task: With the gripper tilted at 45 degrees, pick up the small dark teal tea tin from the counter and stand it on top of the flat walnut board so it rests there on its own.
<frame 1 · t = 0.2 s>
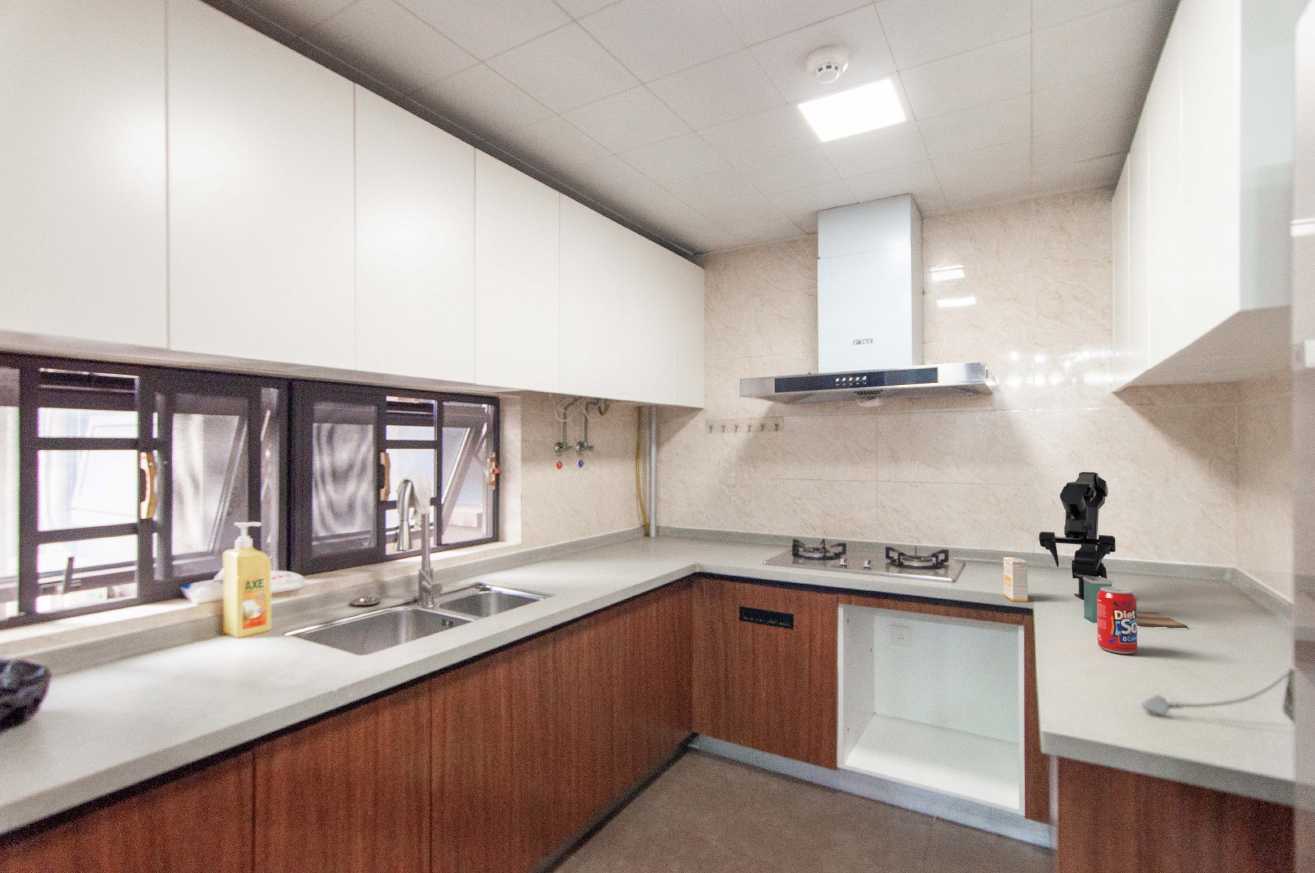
hand: (1076, 568, 181), 14 cm above the worktop, tool tilted 30°, fingers open, 9 cm apart
walnut board: (1143, 622, 178), on the worktop
supplement box: (1015, 599, 203), on the worktop
soda can: (1117, 651, 152), on the worktop
tea tin: (1098, 620, 177), on the worktop
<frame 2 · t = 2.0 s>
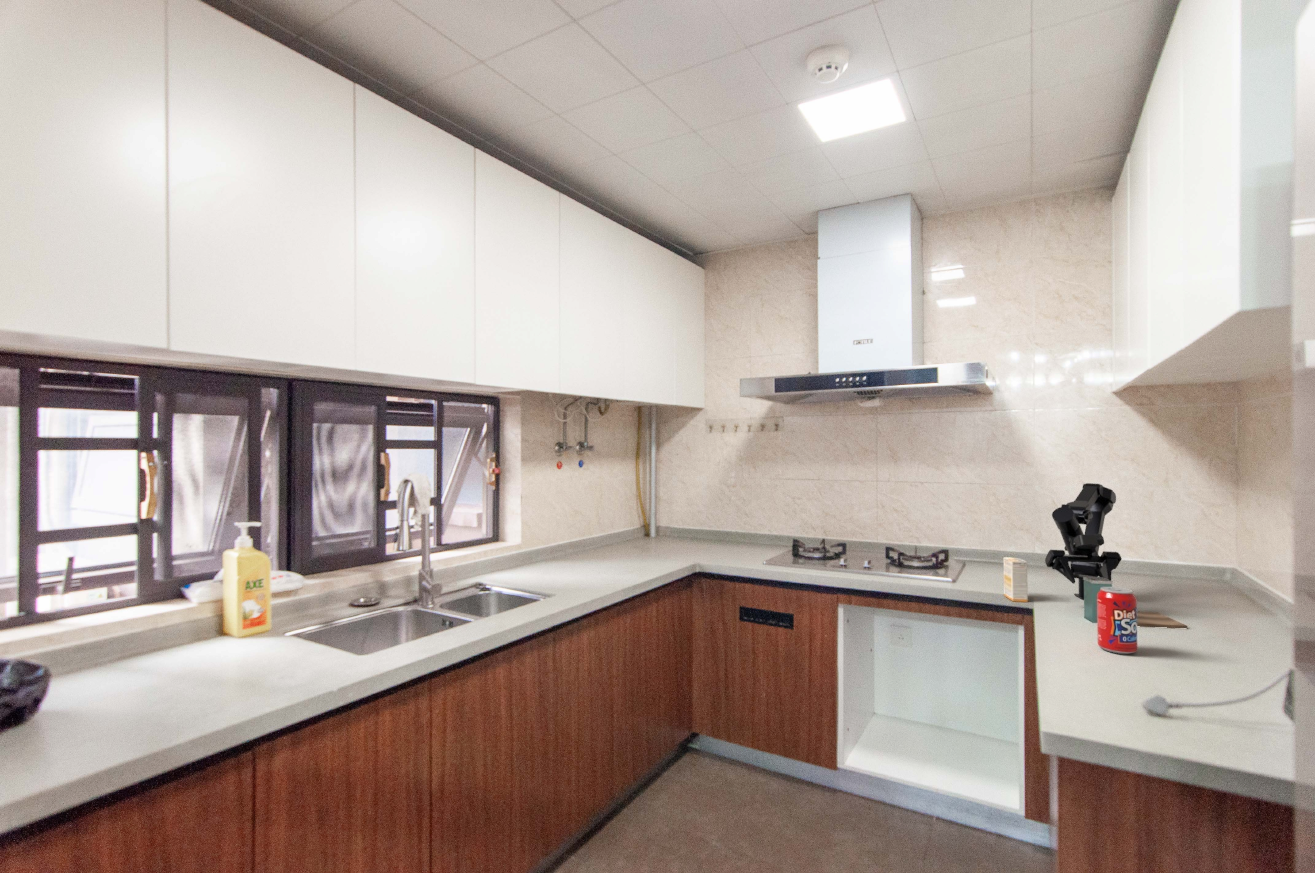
hand: (1091, 583, 181), 10 cm above the worktop, tool tilted 45°, fingers open, 9 cm apart
nothing on the worktop moved.
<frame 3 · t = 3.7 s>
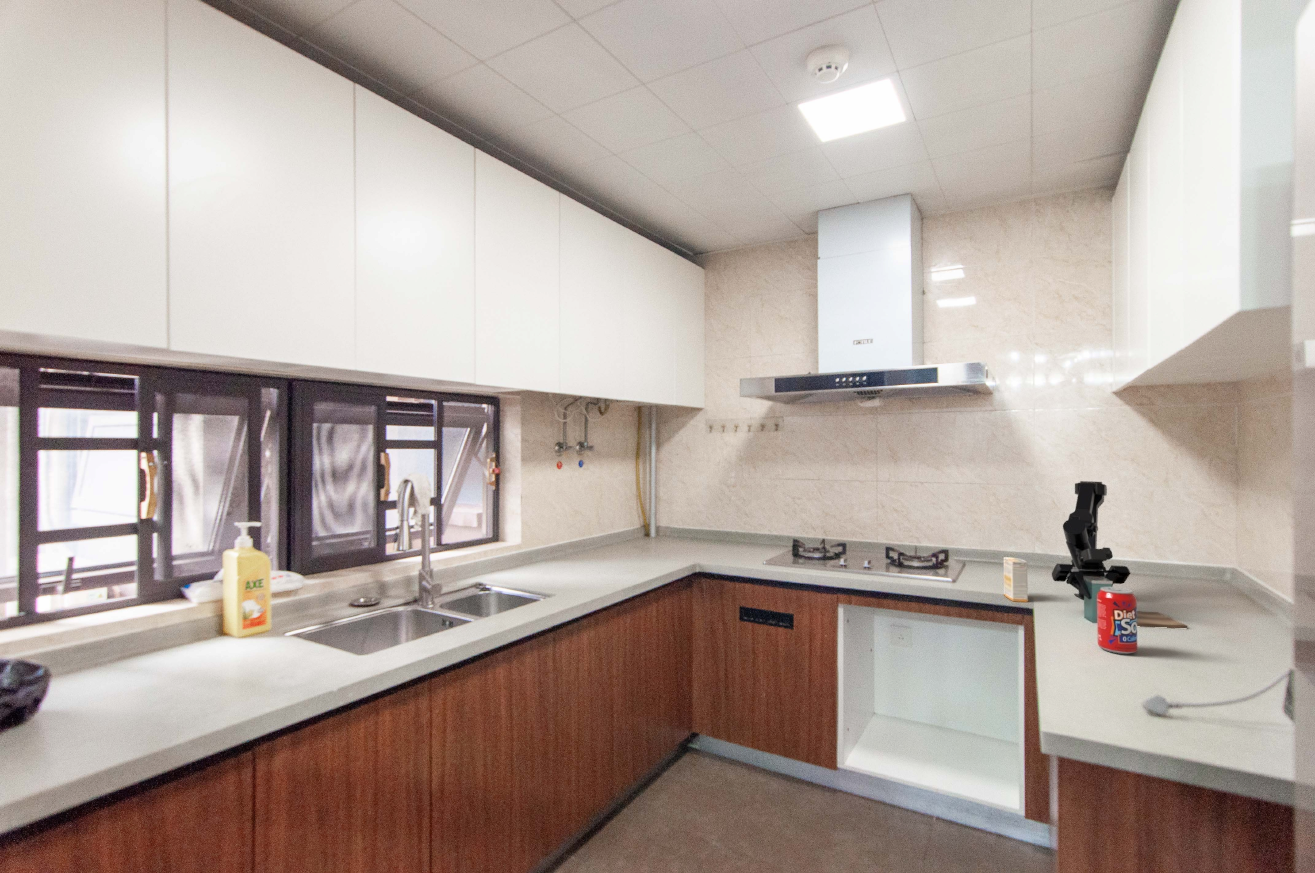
hand: (1100, 598, 176), 7 cm above the worktop, tool tilted 45°, fingers closed on tea tin, 5 cm apart
tea tin: (1098, 620, 177), on the worktop, touching gripper
everything else where it was.
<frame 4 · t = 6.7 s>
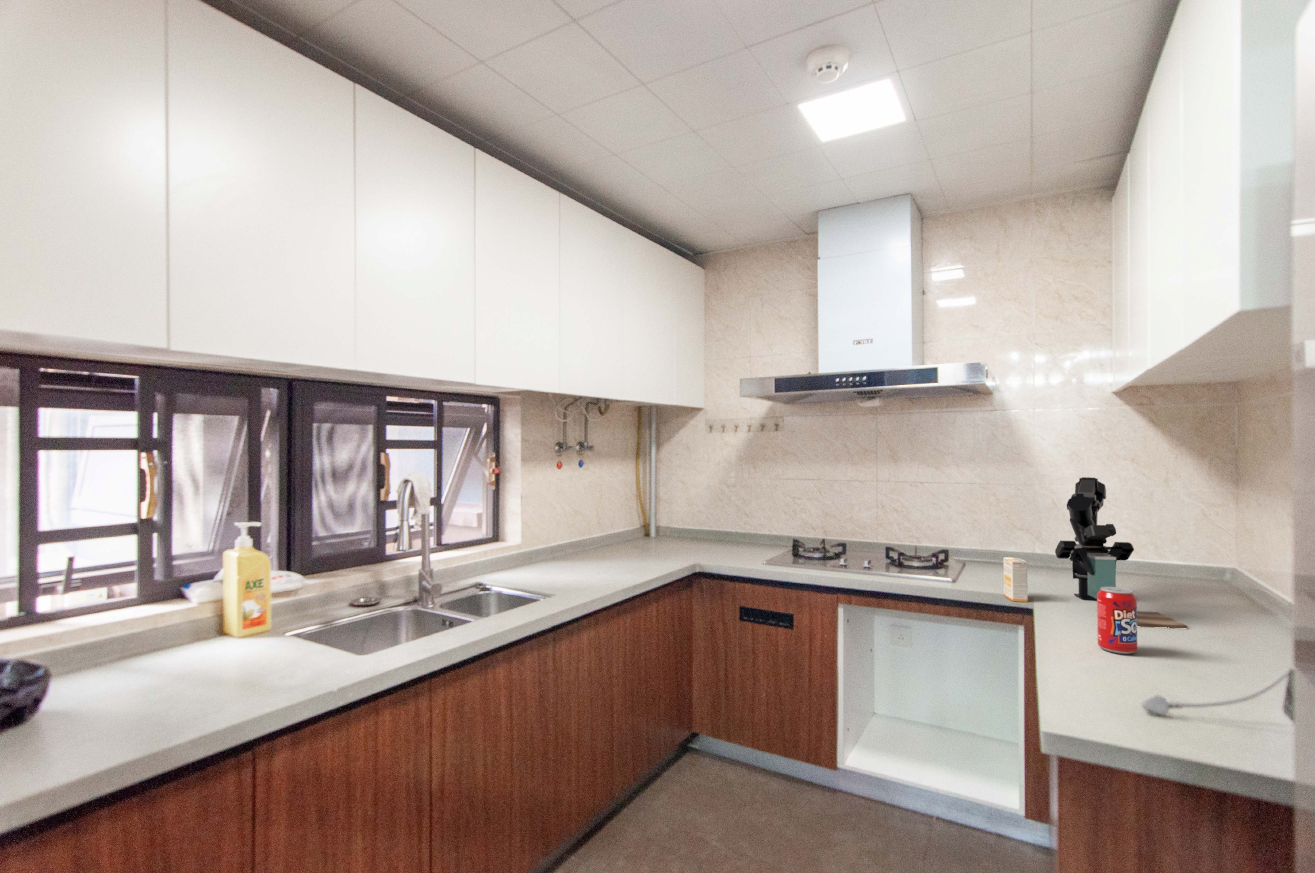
hand: (1103, 574, 176), 13 cm above the worktop, tool tilted 45°, fingers closed on tea tin, 5 cm apart
tea tin: (1101, 596, 178), point 7 cm above the worktop, touching gripper
everything else where it was.
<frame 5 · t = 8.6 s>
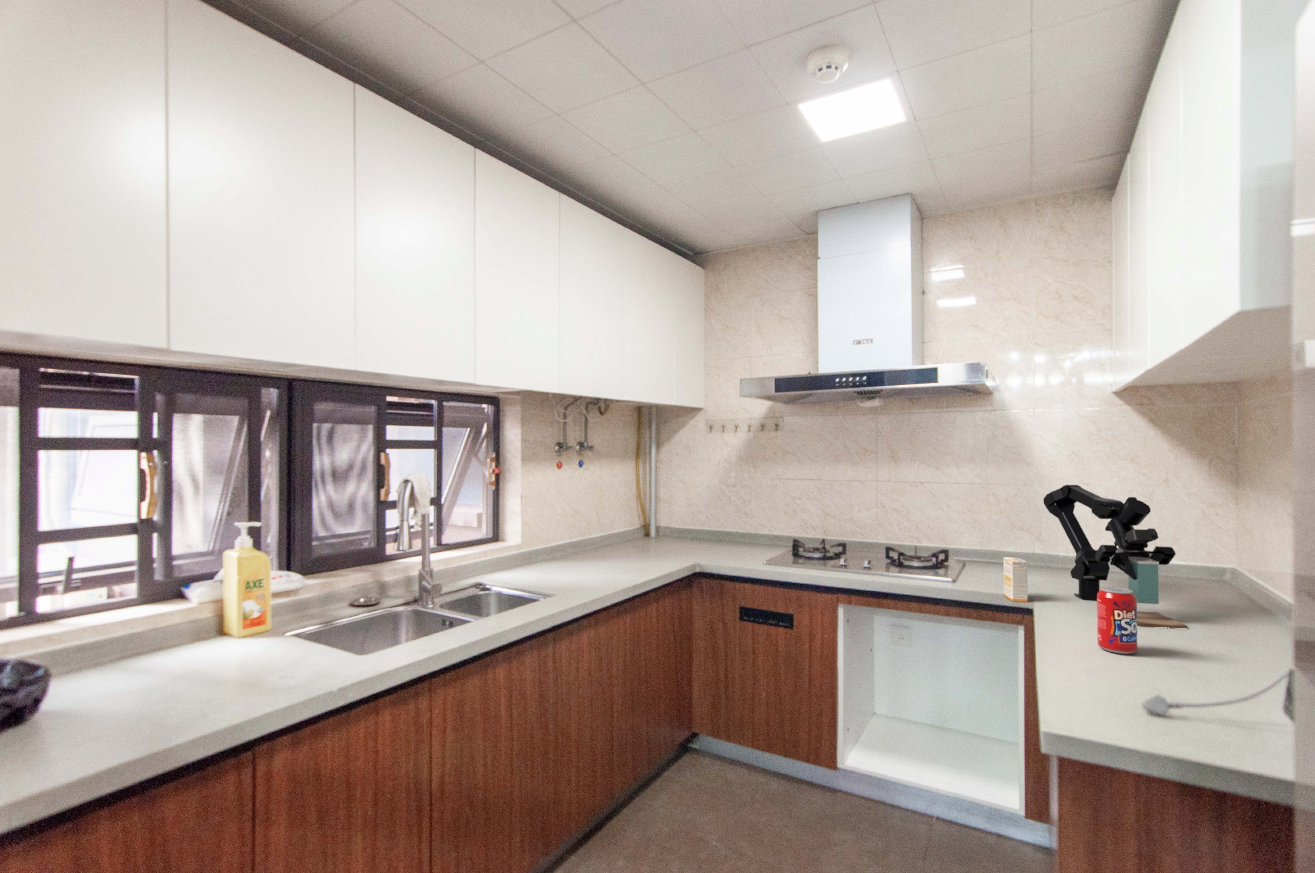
hand: (1146, 579, 176), 12 cm above the worktop, tool tilted 45°, fingers closed on tea tin, 5 cm apart
tea tin: (1143, 601, 178), point 5 cm above the worktop, touching gripper
everything else where it was.
when the fingers open (9 cm above the worktop, at t = 9.8 s): tea tin drops 2 cm, resting on walnut board.
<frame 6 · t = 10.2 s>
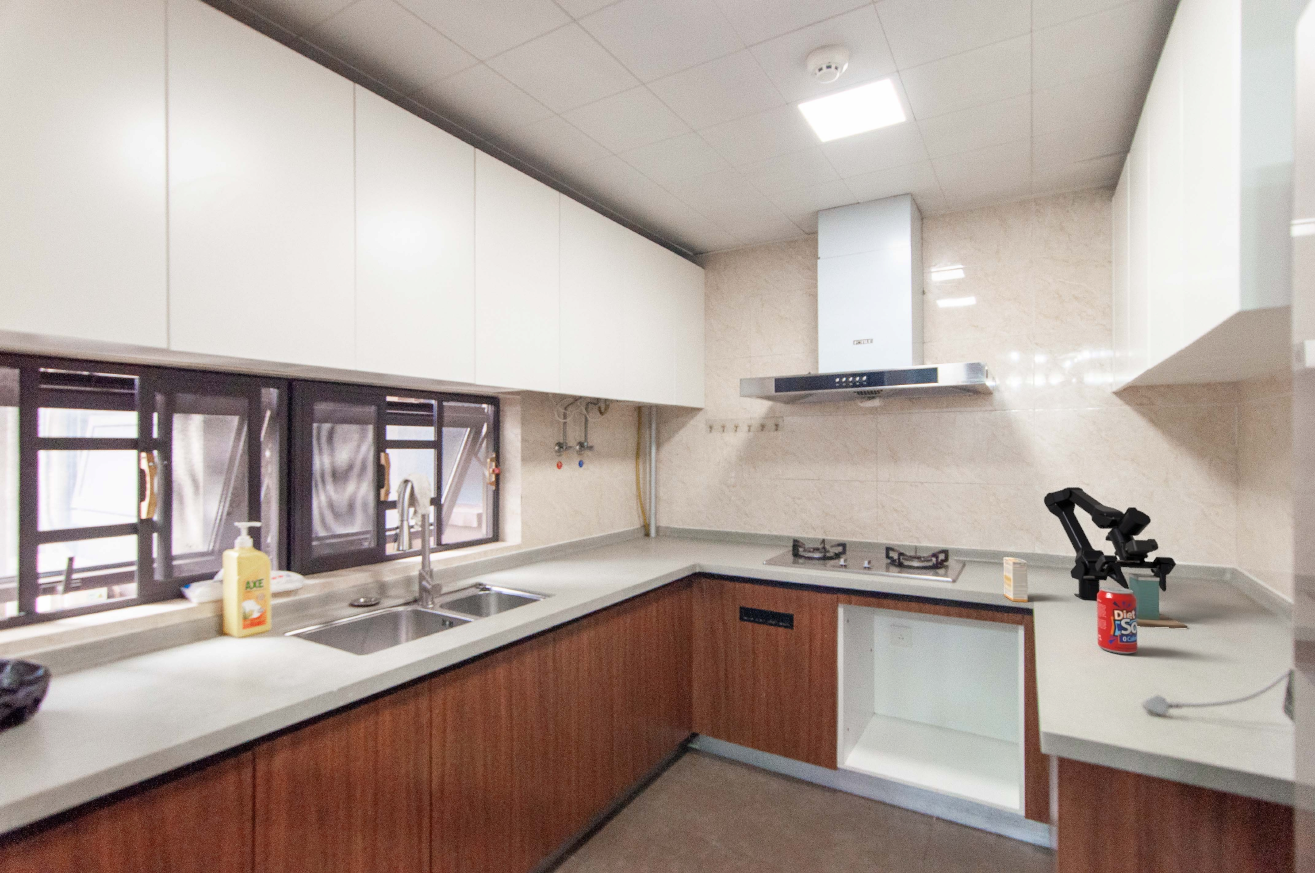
hand: (1146, 589, 176), 9 cm above the worktop, tool tilted 45°, fingers open, 9 cm apart
walnut board: (1143, 622, 178), on the worktop, touching tea tin
tea tin: (1144, 617, 177), point 1 cm above the worktop, touching walnut board
everything else where it was.
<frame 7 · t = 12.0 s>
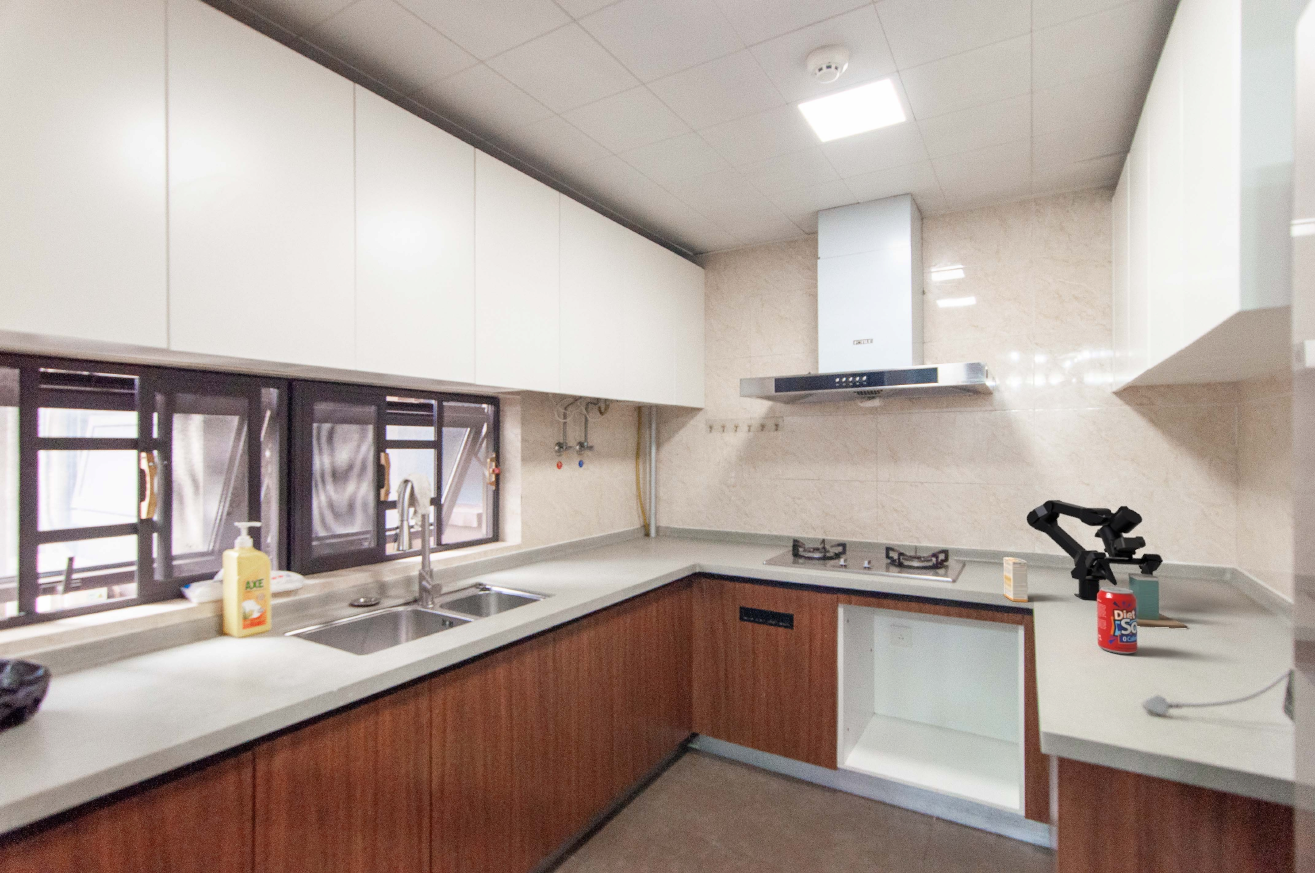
hand: (1133, 585, 183), 9 cm above the worktop, tool tilted 45°, fingers open, 9 cm apart
walnut board: (1143, 622, 178), on the worktop
tea tin: (1144, 617, 178), point 1 cm above the worktop
everything else where it was.
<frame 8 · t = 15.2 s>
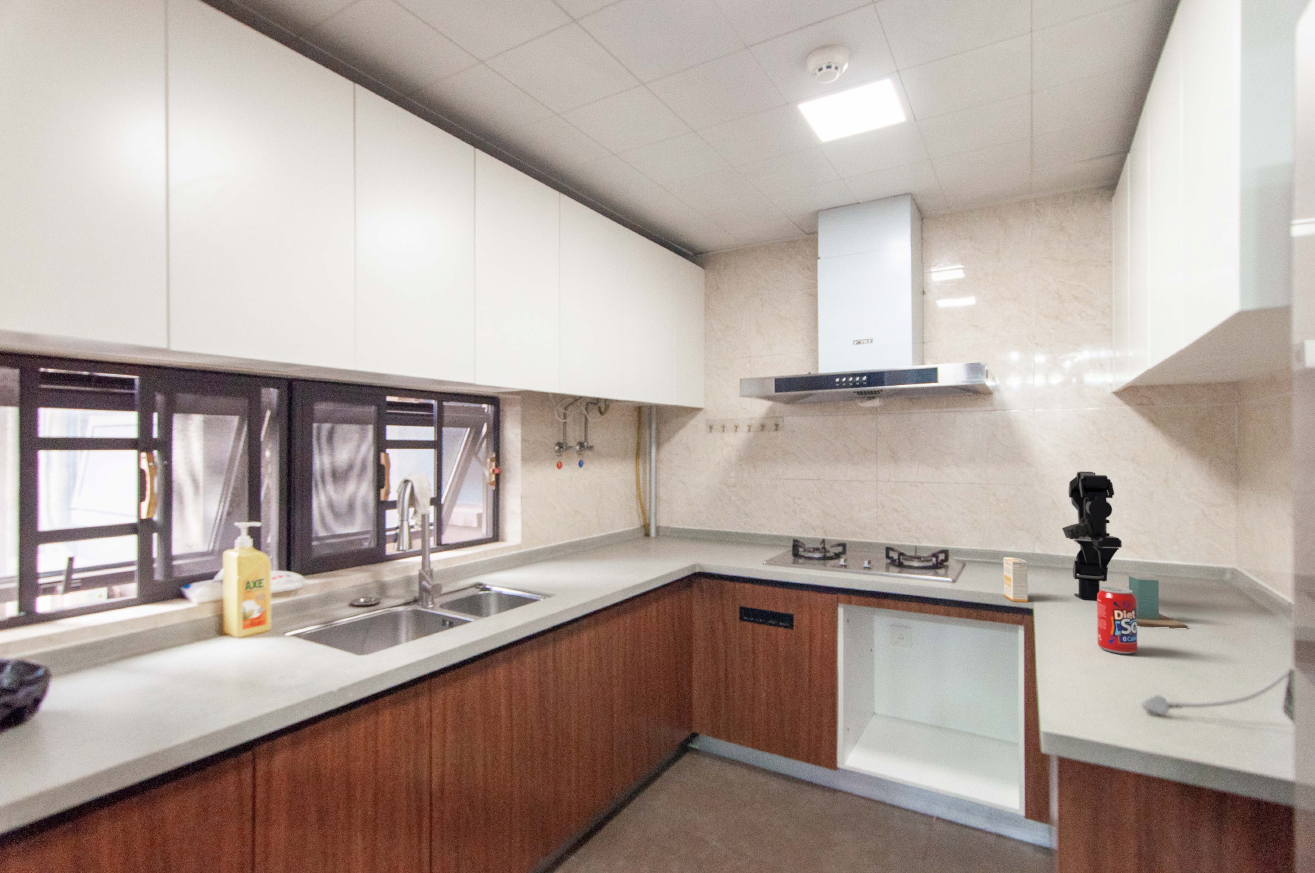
hand: (1095, 566, 191), 13 cm above the worktop, tool pointing down, fingers open, 9 cm apart
walnut board: (1143, 622, 178), on the worktop, touching tea tin
tea tin: (1143, 617, 178), point 1 cm above the worktop, touching walnut board
everything else where it was.
at the end: tea tin inside the target area on the walnut board (0.2 cm from its centre), point 1.5 cm above the walnut board's base; tea tin tilted 1°; tea tin touching nothing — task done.
